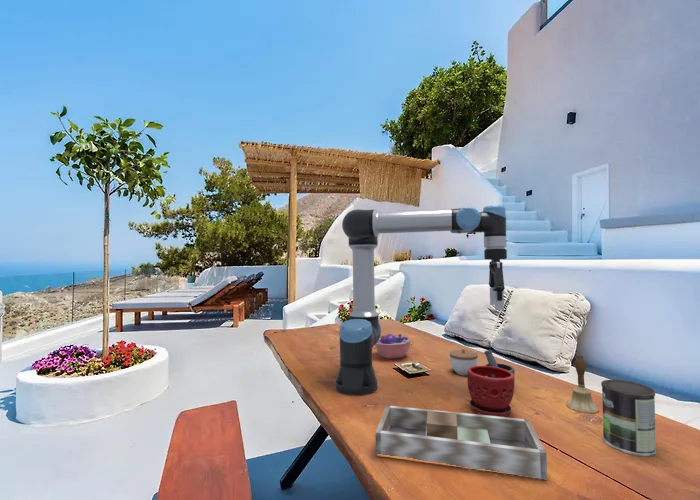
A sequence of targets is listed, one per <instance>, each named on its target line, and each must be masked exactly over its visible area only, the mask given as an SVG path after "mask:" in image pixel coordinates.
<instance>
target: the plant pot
mask: <svg viewBox="0 0 700 500" xmlns="http://www.w3.org/2000/svg"><path fill="white" fill-rule="evenodd" d="M492 374H494V375H495V376H494V377H492V376H491V375H492ZM466 376H467V377H466V378H467V379H466V381H467V386H468V387H467V389H468V393H469V396H470V399H471V400H469V406H470V408H471V409H472V410H473V411H474V412H475V413H477V414H478V415H488V416H498V417H508V415H510V413H511V412H512V407H511V405H510V404H511V403H512V400H513V397H514V392H515V374H513V373H512V372H510V371H508V370H505V369H502V368H497V367H492V366H485V365H477V366H473V367H470V368H468V372H467V375H466ZM487 376H488V377H487ZM500 377H501V378H500Z"/></svg>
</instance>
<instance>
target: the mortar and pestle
mask: <svg viewBox="0 0 700 500" xmlns="http://www.w3.org/2000/svg"><path fill="white" fill-rule="evenodd" d="M483 354H484V356H486V359H487V364H484V366H492V367H497V368H502V369H505V370H508V371H510V372H512V373H513V374H514V375H515V370H516V369H515V368H514V367H513V366H511V365H508V364H505V363H498V362H497V361H496V359H495V357H494V354H493V351H492V349H487V350H485V351H484V352H483ZM491 376H492V377H494V376H495V375H494V374H492V375H491ZM486 377H488V376H486ZM500 378H501V377H500Z"/></svg>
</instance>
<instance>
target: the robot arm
mask: <svg viewBox="0 0 700 500" xmlns="http://www.w3.org/2000/svg"><path fill="white" fill-rule="evenodd" d="M341 227H342V231H343V232H344V234H345V235H346V237H347V238H348V247H349V249H350V250H352V294H353V295H352V297H353V298H352V299H353V301H352V303H353V304H352V307H353V309H352V311H351V312H350V313H349V320H345V321H343V322H342V323H340V325H339V331H338V336H339V369H338V371H337V374H336V375H337V376H336V378H335V382H334V383H335V384H334V385H335V390H336V391H337V392H338V393H340V394H343V395H349V396H364V395H369V394H373V393H375V392H376V391H377V390H378V384H379V383H378V379H377V375H376V373H375V370H374V369H375V368H374V367H373V347H375V344H376V343H377V342H378V340H379V338H380V336H382V328H381V325H380V319H379V318H380V314H379V312H377V310H376V304H375V303H376V302H375V300H376V299H375V255H374V254H375V249H376V248H377V247H378V241H379V240H378V237H379V234H400V233H401V234H402V233H406V234H407V233H425V232H427V233H428V232H430V233H431V232H450V233H451V234H458V235H459V234H474V233H483V248H485V249H484V250H483V252H484V253H483V254H484V257H483V258H484V260H490V261H489V265H488V267H489V273H488V274H489V275H488V276H489V277H488V278H489V279H488V285H489V304H490V306H494V311H505V300H504V298H505V297H504V296H505V295H504V291H505V289H506V287H505V281H504V271H503V262H502V261H501V260H506V259H508V251H507V249H506V247H507V243H508V242H509V239H508V238H507V215H506V207H505V206H504V205H500V204H492V205H486V206H484V207H483V209H482V211H479V210H478V209H477V208H476V207H473V206H464V207H461V208H441V209H440V208H439V209H437V208H436V209H422V210H421V209H420V210H417V209H416V210H401V211H400V210H399V211H398V210H397V211H381V212H380V211H378V209H352V210H350V211H349V212H347V213H346V214H345V215H344V216H343V219H342V224H341Z"/></svg>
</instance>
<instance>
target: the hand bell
mask: <svg viewBox="0 0 700 500" xmlns="http://www.w3.org/2000/svg"><path fill="white" fill-rule="evenodd" d="M574 362H575V363H574V364H575V365H574V367H575V371H576V373H577V386H575V387H573V388H572V393H571V398H570V399H569V400H568V401H566V403H565V404H566V405H565V406H566V407H568V408H569V409H570V410H572V411H575V412H578V413H584V414H597V413H599V412H600V411H599V407H598V406H597V405H596V404H595V403H594V401H593V398H592V393H591V391H590V389H588V388H586V385H585V384H586V383H585V373H586V372H585V371H586V362H585V360H584V357H583V354H577V355H576V359H575V361H574Z"/></svg>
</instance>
